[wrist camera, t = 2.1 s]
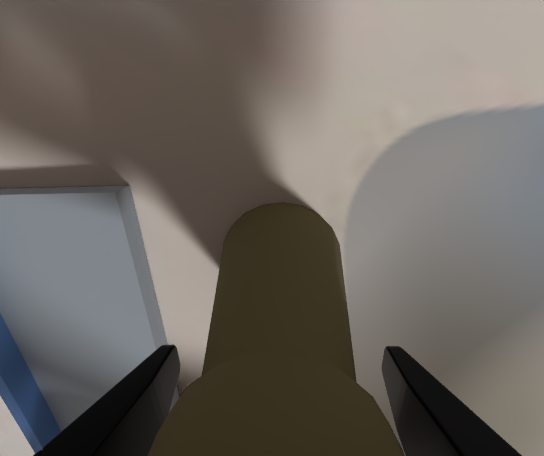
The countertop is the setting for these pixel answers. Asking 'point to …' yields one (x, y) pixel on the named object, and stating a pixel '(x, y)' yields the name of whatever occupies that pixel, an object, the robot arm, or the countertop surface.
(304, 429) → the olive waisted cylinder
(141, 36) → the countertop surface
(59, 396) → the shelf
